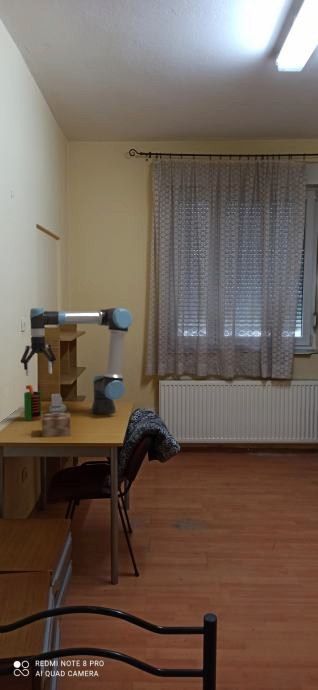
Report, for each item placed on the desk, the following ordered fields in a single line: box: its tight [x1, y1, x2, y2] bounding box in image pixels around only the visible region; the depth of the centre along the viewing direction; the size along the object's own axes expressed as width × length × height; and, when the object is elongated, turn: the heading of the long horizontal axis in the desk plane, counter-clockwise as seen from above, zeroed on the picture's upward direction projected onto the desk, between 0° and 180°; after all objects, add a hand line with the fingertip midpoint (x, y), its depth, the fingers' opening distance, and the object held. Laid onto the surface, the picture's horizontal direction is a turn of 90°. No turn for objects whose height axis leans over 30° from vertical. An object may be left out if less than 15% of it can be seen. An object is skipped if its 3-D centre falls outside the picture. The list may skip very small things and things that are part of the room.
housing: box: [41, 412, 71, 438], centre depth 269 cm, size 14×14×10 cm
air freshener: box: [48, 396, 68, 414], centre depth 317 cm, size 11×8×10 cm
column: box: [51, 393, 61, 417], centre depth 269 cm, size 5×5×20 cm
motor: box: [23, 384, 42, 422], centre depth 301 cm, size 10×9×20 cm
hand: (39, 374), depth 286 cm, fingers open, 13 cm apart
